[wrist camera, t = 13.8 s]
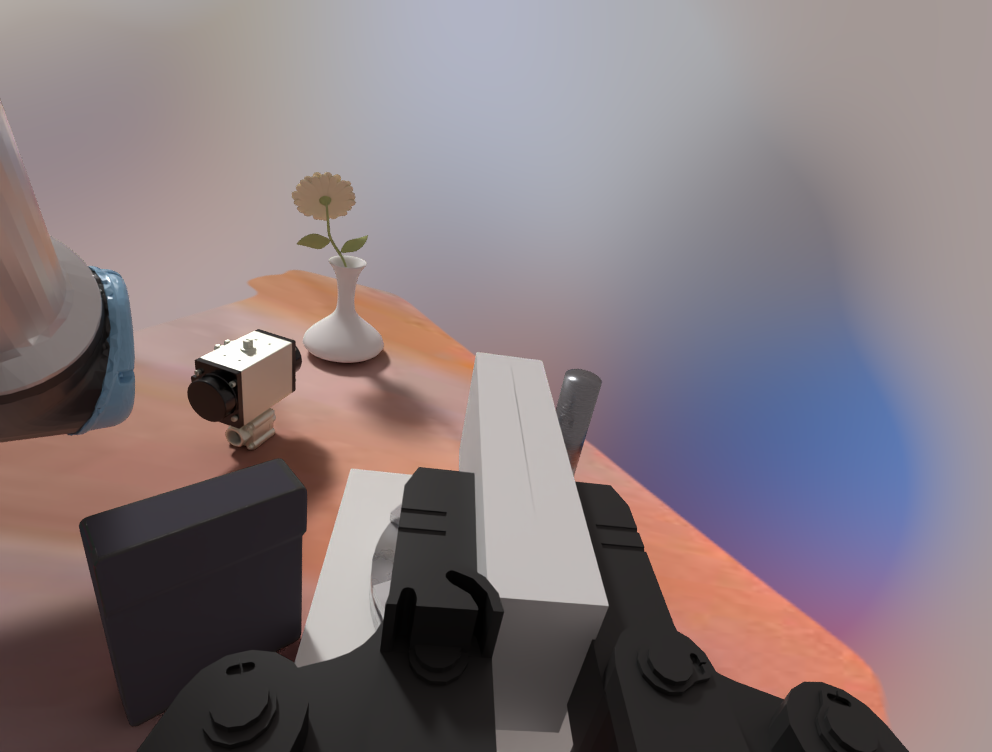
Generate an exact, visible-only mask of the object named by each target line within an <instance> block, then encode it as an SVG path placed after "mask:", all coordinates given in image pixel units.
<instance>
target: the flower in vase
mask: <svg viewBox="0 0 992 752" xmlns="http://www.w3.org/2000/svg"><path fill="white" fill-rule="evenodd" d="M340 180H341V177H340V175H338V174H336V175H334V176H332V174H331V173H329V172H326V173H325V174H322V175H321V174H320V173H319V172H316V173H314V174H313V176H312V177H310V176H306V177H305V178H304V180H301V181H300V184H298V185H297V187H296V189H297V191H294V192H292V198H293V199H294V200H295V201H294V204H296V205H297V206H298V207H297V209H298V211H299V212H300V213H304V215H305V216H311V215H313V218H314V219H316V220H318V219H319V220H324V221H326V220H327V231H328V236H329V239H330V240H329V239H328V238H326V237H324V236H321V235H319V234H310V235H307V236H305V237H303V238H302V239H301V240H300V241H299V242H298V243H297V244H298V245H303V246H307V247H311V248H315V249H322V248H323V247H325V246H326V245H328V244H329V242H330V241H331V243H332V245H333V246H334V248H335V249H336V251H337V253H338V254H339V256H334V257H331V258H329V263H330V264H331V266H332V267H333V269H334V270H335V274H336V277H337V283H338V303H337V307H336V309H335V311H334V312H333V313H332V314H331V315H329V316H327V317H326V318H324V319H322V320H320V321H319V322H317V323H316V324H314V325H313V326H312V327H310V328H309V329H308V330H307V331H306V333H305V335H304V337H303V344H304V346H305V347H306V349H307V350H308V351H309V352H310V353H311V354H313V355H315V356H317V357H319V358H322V359H325V360H328V361H334V362H343V363H352V362H361V361H365V360H369V359H371V358H373V357H375V356H377V355H378V354H379V353H380V352H381V350H382V349H383V347H384V343H383V339H382V337H381V335H380V334H379V333H378V332H377V330H376V329H375V328H374V327H372V326H371V325H370V324H369V323H367V322H366V321H365V320H363V319H362V318H361V317H360V316H359V315H358V314H357V313H356V311H355V307H354V296H355V288H356V283H357V279H358V276H359V274H360V272H361V271H362V270H363V268H364V267H365V266H366V265H367V263H366V261H364V260H363V259H360V258H356V257H352V256H342V255H341V252H342V253H346V252H354V251H357V250H359V249H360V248H361V247H362V246H363V245H364V244H365V242H366V240H367V237H368V235H367V236H364V237H361V238H358V239H352V240H349V241H347V242H346V243H345V244H344V246H343V247H342V249H341V252H340V251H339V250H338V248H337V247H336V245H335V243H334V242H333V240H332V238H331V235H330V226H329V218H331V219H336V218H337V217H339V216H345V215H347V211H349V210H351V208H352V207H351V206H353V205H355V203H356V202H355V201H354V199H355V194H354V193H353V192H352V191H353V188H352V187H351V186H350V185H351V183H350V182H349V181H344V180H342V181H340Z"/></svg>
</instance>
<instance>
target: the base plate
mask: <svg viewBox="0 0 992 752" xmlns="http://www.w3.org/2000/svg"><path fill="white" fill-rule="evenodd" d="M411 476H412V475H408V474H398V473H389V472H379V471H369V470H360V469H351V471H350V474H349V477H348V481H347V484H346V488H345V491H344V495H343V498H342V501H341V505H340V508H339V512H338V515H337V519H336V522H335V526H334V529H333V532H332V536H331V539H330V543H329V546H328V550H327V553H326V556H325V560H324V563H323V567H322V570H321V574H320V577H319V581H318V584H317V587H316V591H315V594H314V598H313V601H312V605H311V608H310V611H309V615H308V618H307V622H306V625H305V629H304V632H303V635H302V639H301V642H300V646H299V649H298V653H297V656H296V660H295V665H296V666H297V667H302V666H306V665H310V664H314V663H318V662H322V661H326V660H330V659H333V658H336V657H339V656H342V655H344V654H347V653H349V652H351V651H353V650H354V649H356V648H357V647H359V646H361V645H362V644H364V643H365V642H366V641H367V640H368V639H369V638H370V637H371V636H372V635H373V634H374V633H375V632H376V630H375V627H374V625H373V621H372V616H371V612H370V603H369V590H370V579H371V569H372V559H373V555H374V552H375V548H376V545H377V543H378V541H379V539H380V537H381V534H382V533H383V532H384V530H385V529H386V527H387V526H388V524H389V523H390V513H391V511H393V510H394V509H395V508H396V507H397V506H399V505H400V504H401V503H402V499H403V492H404V485H405V484H406V483H407V481H408V480H409V479H410V478H411ZM572 746H573V741H572V735H571V728H570V722H569V716H568V711H567V713H566V716H565V718H564V721H563V723H562V726H561V728H560V731H559V733H554V732H532V731H510V730H496V747H497V752H570V751H571V749H572Z"/></svg>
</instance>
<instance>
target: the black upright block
mask: <svg viewBox="0 0 992 752" xmlns="http://www.w3.org/2000/svg"><path fill="white" fill-rule="evenodd" d="M79 529H80V533H81V537H82V541H83V546H84V550H85V554H86V558H87V562H88V566H89V570H90V574H91V579H92V583H93V587H94V591H95V595H96V599H97V603H98V607H99V612H100V616H101V620H102V624H103V628H104V632H105V636H106V640H107V645H108V649H109V653H110V657H111V661H112V665H113V669H114V673H115V678H116V682H117V686H118V690H119V693H120V696H121V699H122V703H123V706H124V709H125V712H126V715H127V718H128V721H129V724H130V725H131V726H137V725H139V724H141V723H143V722H145V721H147V720H149V719H151V718H153V717H155V716H156V715H158V714H160V713H162V712H164V711H166V710H167V709H168V708H169V706H170V705H171V704H172V702H173V701H174V699H175V698H176V697H177V695H178V694H179V693H180V691H181V690H182V689H183V688H184V687H185V686H186V685H187V684H188V683H189V682H190V681H191V680H192V679H193V678H194V677H195V676H196V675H197V674H198V673H199V672H200V671H201V670H202V669H204V668H205V667H207V666H209V665H211V664H212V663H214V662H216V661H218V660H219V659H221V658H223V657H225V656H227V655H231V654H236V653H240V652H244V651H249V650H259V651H269V652H276V651H278V650H280V649H281V648H283V647H285V646H287V645H289V644H291V643H293V642H294V641H296V640H298V639H299V638H300V636H301V613H302V536H303V534H304V533H305V532H306V529H307V490H306V488H305V487H304V485H303V484H302V483H301V482H300V480H299V479H298V478H297V477H296V475H295V474H294V473H293V472H292V470H291V469H290V468H289V467H288V465H287V464H286V463H285V462H284V461H283V460H282V459H279V458H278V459H274V460H271V461H267V462H264V463H261V464H258V465H254V466H251V467H248V468H245V469H241V470H238V471H235V472H232V473H228V474H225V475H222V476H218V477H215V478H212V479H209V480H205V481H202V482H199V483H196V484H192V485H189V486H186V487H183V488H179V489H176V490H173V491H170V492H166V493H163V494H160V495H157V496H153V497H150V498H147V499H144V500H140V501H137V502H134V503H130V504H127V505H124V506H121V507H117V508H114V509H111V510H108V511H104V512H101V513H98V514H95V515H92V516H89V517H86V518H84V519H83V520H82V521H81V522H80V524H79Z"/></svg>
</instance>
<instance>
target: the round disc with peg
mask: <svg viewBox="0 0 992 752" xmlns="http://www.w3.org/2000/svg"><path fill="white" fill-rule="evenodd" d="M601 383H602V381H601V379H600V378H599V377H598V376H597V375H595V374H594V373H592V372H589V371H586V370H582V369H571V370H568V371H567V372H566V373H565V377H564V381H563V384H562V388H561V392H560V396H559V400H558V404H557V407H556V414H557V417H558V421H559V425H560V428H561V432H562V436H563V439H564V443H565V447H566V451H567V454H568V458H569V462H570V465H571V469H572V473H573V476H574V474H575V471H576V467H577V464H578V461H579V457H580V454H581V451H582V447H583V444H584V441H585V437H586V434H587V430H588V427H589V424H590V421H591V417H592V414H593V411H594V407H595V404H596V400H597V397H598V394H599V390H600V387H601ZM401 506H402V503H401V504H400V505H399V506H397V507H396V508H395V509H394V510H393V511H391V513H390V523H389V524H388V526H387V527H386V529H385V530H384V532H383V533H382V534H381V537H380V539H379V541H378V543H377V545H376V548H375V552H374V555H373V559H372V569H371V579H370V590H369V603H370V612H371V616H372V621H373V625H374V627H375V630H377V629H378V627H379V625H380V624H381V622H382V621H383V619H384V612H385V603H386V601H387V598H388V596H389V590H390V583H391V576H392V569H393V562H394V555H395V548H396V541H397V534H398V527H399V520H400V513H401Z"/></svg>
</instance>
